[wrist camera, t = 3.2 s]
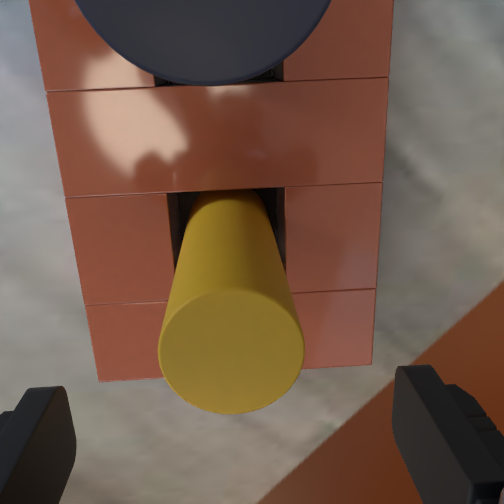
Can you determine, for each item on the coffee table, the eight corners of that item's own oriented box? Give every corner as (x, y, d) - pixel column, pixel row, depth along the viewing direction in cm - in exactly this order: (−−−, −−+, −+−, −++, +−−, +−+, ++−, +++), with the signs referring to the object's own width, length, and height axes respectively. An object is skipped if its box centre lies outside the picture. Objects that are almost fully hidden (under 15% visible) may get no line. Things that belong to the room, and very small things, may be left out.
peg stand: (33, -162, 19) (-12, -216, 16) (373, -170, 20) (408, -224, 16) (115, 341, 28) (98, 383, 24) (352, 326, 28) (372, 365, 25)
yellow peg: (185, 183, 25) (149, 292, 13) (266, 179, 25) (305, 283, 13) (192, 258, 26) (165, 420, 14) (268, 254, 27) (305, 410, 14)
